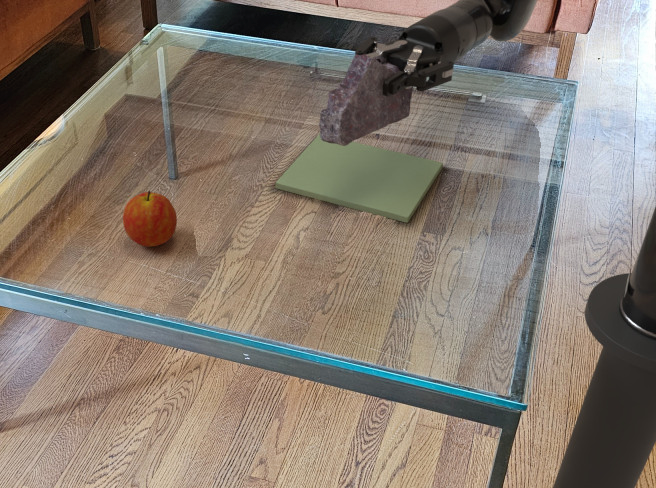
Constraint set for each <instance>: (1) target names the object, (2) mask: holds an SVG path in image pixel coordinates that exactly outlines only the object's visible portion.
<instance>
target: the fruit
mask: <svg viewBox="0 0 656 488" xmlns="http://www.w3.org/2000/svg"><path fill="white" fill-rule="evenodd" d="M177 218H178V217H177V211H176V209H175V207H174V206H173V204H172V202H171V200H169V198H168V197H167V196H165V195H163V194H161V193H157V192H153V191H152V192H151V190H148V191H145V192H141V193H139V194H137V195H135V196H134V197H132V198H131V199H129V201H128V202H127V203H126V205H125V207H124V209H123V213H122V224H123V229H124V231H125V233H126V235H127V236H128V237H129V239H130V240H131V241H133V242H134V243H136V244H138V245H139V246H143V247H147V248H149V247H157V246H160V245H163V244H165V243H166V242H168V241H169V240H170V239H171V238H172V237H173V235H174V234H175V231H176V228H177V224H178V219H177Z"/></svg>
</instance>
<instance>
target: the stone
mask: <svg viewBox="0 0 656 488" xmlns="http://www.w3.org/2000/svg"><path fill="white" fill-rule="evenodd" d="M399 71H400V70H399V68H398V67H397V66H394V65H392V64H390V63H387V64H381V63H379V62H378V61H377V60H376V59H375V58H370V57H368V56H366V55H356V54H355V53H354V55H353V58H352V60H351V62H350V64H349V67H348V68H347V71H346V73H345V76H344V78H343V80H342V81H341V83H340V84H339V85H338V86H337V87H336V88H334V89H332V90H329V91H328V94H327V95H328V98H327V103H326V108H324V109H322V110H320V112H319V115H320V117H319V122H318V128H319V131H318V132H319V134H320V138H321V140H323V141H325V142H328V143H335V144H339V145H342V146H346V145H348V144H349V143H351V142H355V141H356V140H359V139H361V138H363V137H366V136H367V135H369V134H372V133H374V132H376V131H379V130H381V129H384V128H385V127H388V125H392V124H395V123H398V122H400V121H403V120H404V119H406V118H409V117H410V113H411V100H412V95H413V90H414V87H413V86H412V87H411V88H410V89H403V90H401V91H400V92H398V93H397V94H392V95H391V96H389V97H387V96H384V95H383V83H384V81H385V80H386V79H387V78H389V77H390V76H392V75H394V74H395V73H397V72H399Z"/></svg>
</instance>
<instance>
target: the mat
mask: <svg viewBox="0 0 656 488" xmlns="http://www.w3.org/2000/svg"><path fill="white" fill-rule="evenodd" d="M443 166H444V162H442V161H438V160H433V159H429V158H424V157H421V156H416V155H412V154H407V153H403V152H398V151H395V150H391V149H385V148H382V147H378V146H373V145H368V144H363V143H360V142H356V141H352V142H351V143H349V144H348V145H346V146H342V145H339V144H335V143H328V142H325V141H323V140H321V138H320V133H319V134H318V135H317V136H316V137H315V138H314V139H313V140H312V142H310V144H309V145H308V146H307V147H306V148H305V149H304V150H303V152H302V153H301V154H300V155H299V156H298V157H297V158H296V160H294V161H293V162H292V164H291V165H290V166H289V167H288V168H287V169H286V171H285V172H283V174H282V175H281V176H280V177H279V178H278V179H277V180H276V181H275V189H277V190H280V191H285V192H288V193H292V194H296V195H300V196H303V197H307V198H310V199H315V200H319V201H322V202H326V203H330V204H334V205H338V206H341V207H345V208H349V209H353V210H355V211H359V212H360V211H361V212H364V213H367V214H368V213H369V214H372V215H375V216H379V217H383V218H387V219H391V220H395V221H399V222H402V223H406V224H408V223H409V222H410V220H411V218H412V217H413V215H414V214H415V212H416V211H417V209H418V207H419V206H420V204H421V202H422V201H423V199H424V198H425V196H426V194H427V193H428V191H429V190H430V189H431V187H432V186H433V184H434V182H435V180H436V179H437V177H438V176H439V175H440V173H441V171H442V169H443Z"/></svg>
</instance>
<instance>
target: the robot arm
mask: <svg viewBox="0 0 656 488" xmlns="http://www.w3.org/2000/svg"><path fill="white" fill-rule="evenodd" d="M538 1H539V0H457V1H456V2H454V3H452V4H451V5H449V6H447V7H445V8H442V9H439V10H437V11H434V12H432V13H430V14H429V15H427V16H425V17H424V18H422V19H420V20H418V21H416V22H414V23H412V24H410V25H409V26H407V28H405V29H404V30H403V31H402V33H401V35H399V37H398V38H397V39H396V40H390V41H388V42H387V43H386V44H385V43H380V42H378V37H377V36H369V37H368V38H367V39H366V40H364V42H362V43H361V45H359V46H358V47H357V48H356V49H355V51H354V55H355V54H356V55H366V56H368V57H370V58H375V59H376V60H377V61H378V62H379V63H381V64H387V63H390V64H392V65H394V66H397V67H398V68H399V70H400V71H399V72H397V73H395V74H394V75H392V76H390V77H389V78H387V79H386V80H385V81H384V83H383V95H384V96H387V97H389V96H391V95H392V94H397V93H398V92H400V91H401V90H403V89H410V88H411V87H412V86H413V88H415V89H416V91H417V92H425V91H428V90H430V89H433V88H435V87H437V86H438V87H439V86H441V85H443V84H447V83H449V82H452V79H453V75H454V74H453V73H454V66H455V63H456V62H458V61H459V60H460V59H462V58H463V57H464V56H466V54H467V53H468V52H470V51H472V50H473V49H475V48H476V47H478V46H480V45H482V44H483V43H484V42H485V41H486V40H487V39H488V38H489V37H490V38H492V39H493V40H495V41H497V42H508V41H511V40H513V39H515V38H516V37H518V35H520V34H521V33H522V32H523V30H524V29H525V28H526V26H527V25H528V23H529V21H530V19H531V17H532V15H533V13H534V10H535V8H536V6H537V3H538ZM628 273H629V275H630V273H631V276H630V279H629V276H628V279H627V284H626V289H625V292H624V295H623V297H622V299H621V302H620V305H619V311H620V314H621V316H622V318H623V319H624V321H625V322H626V323H627V324H628V325H629V326H630V327H631V328H633V329H634V330H635V331H637V332H639V333H640V334H642V335H644V336H646V337H649V338H651V339H654V340H656V206H655V207H654V210H653V213H652V215H651V218H650V220H649V224H648V226H647V229H646V232H645V234H644V237H643V240H642V243H641V245H640V247H639V252H638V254H637V256H636V260H635V263H634V265H633V268H632V270H631V272H628ZM628 281H629V282H628Z"/></svg>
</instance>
